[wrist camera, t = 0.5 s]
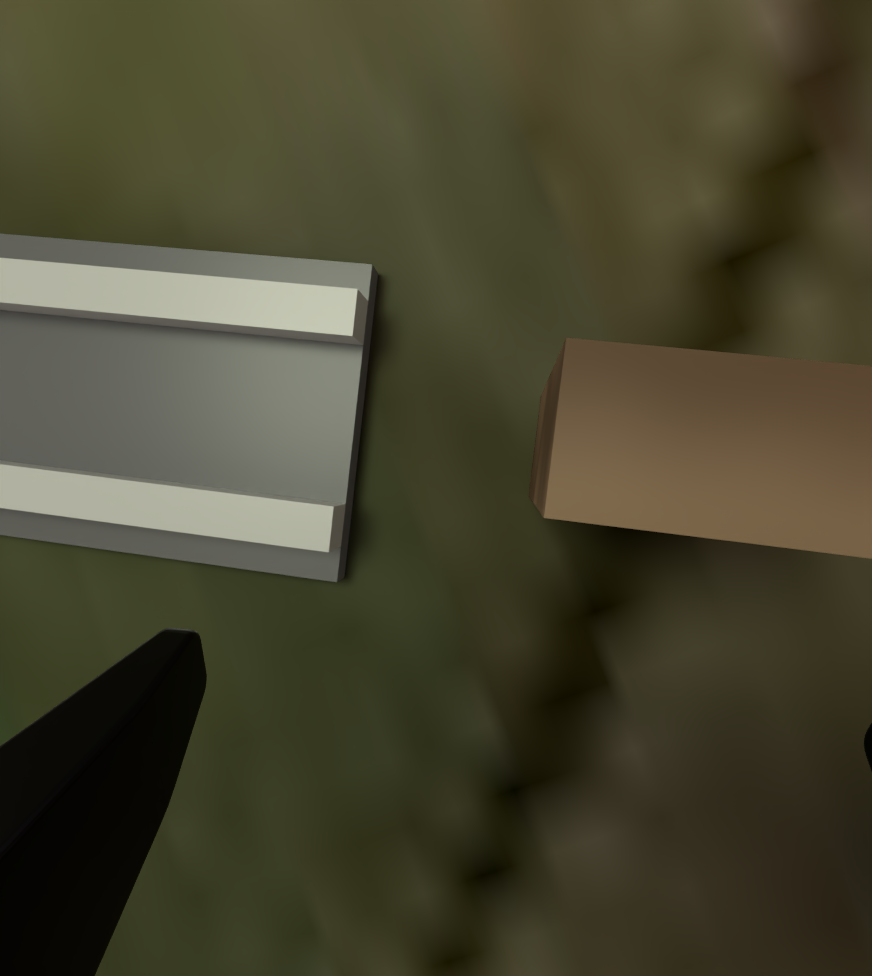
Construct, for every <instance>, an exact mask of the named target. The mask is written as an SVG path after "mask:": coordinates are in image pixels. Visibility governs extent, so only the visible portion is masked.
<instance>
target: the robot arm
mask: <svg viewBox="0 0 872 976" xmlns="http://www.w3.org/2000/svg"><path fill="white" fill-rule="evenodd" d="M206 680H207V675H206V668H205V662H204V656H203V650H202V644H201V639H200V636H199V634H198V632H196V631H194V630H189V629H177V628H166V629H164V630H162V631H160V632H159V633H157V634H156V635H154V636H153V637H152V638H150V639H149V640H147V641H146V642H145V643H143V644H142V645H141V646H139V647H138V648H136V649H135V650H134V651H132V652H131V653H129V654H128V655H127V656H125V657H124V658H122V659H121V660H120V661H118V662H117V663H115V664H114V665H113V666H111V667H110V668H108V669H107V670H106V671H104V672H103V673H102V674H100V675H99V676H97V677H96V678H95V679H93V680H92V681H90V682H89V683H88V684H86V685H85V686H83V687H82V688H81V689H79V690H78V691H76V692H75V693H74V694H72V695H71V696H70V697H68V698H67V699H65V700H64V701H63V702H61V703H60V704H58V705H57V706H56V707H54V708H53V709H51V710H50V711H49V712H47V713H46V714H44V715H43V716H42V717H40V718H39V719H38V720H36V721H35V722H33V723H32V724H31V725H29V726H28V727H26V728H25V729H24V730H22V731H21V732H19V733H18V734H17V735H15V736H14V737H12V738H11V739H10V740H8V741H7V742H5V743H4V744H3V745H1V746H0V976H95V974H96V972H97V969H98V967H99V965H100V962H101V960H102V958H103V955H104V953H105V951H106V949H107V946H108V944H109V942H110V939H111V937H112V935H113V933H114V930H115V928H116V926H117V923H118V921H119V919H120V916H121V914H122V912H123V910H124V907H125V905H126V903H127V900H128V898H129V896H130V894H131V891H132V889H133V887H134V884H135V882H136V880H137V877H138V875H139V873H140V871H141V868H142V866H143V864H144V861H145V859H146V857H147V855H148V852H149V850H150V848H151V845H152V843H153V841H154V838H155V836H156V834H157V832H158V829H159V827H160V825H161V822H162V820H163V817H164V815H165V812H166V810H167V807H168V805H169V802H170V799H171V796H172V793H173V790H174V787H175V784H176V781H177V778H178V775H179V772H180V768H181V765H182V762H183V759H184V756H185V753H186V749H187V746H188V743H189V740H190V737H191V734H192V730H193V727H194V724H195V721H196V718H197V715H198V711H199V708H200V705H201V702H202V699H203V695H204V692H205V688H206ZM864 748H865V753H866V756H867V759H868V762H869V765H870V768H871V771H872V723H871V725H870V727H869V728H868V730H867V732H866V734H865V738H864Z"/></svg>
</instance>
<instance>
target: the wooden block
mask: <svg viewBox="0 0 872 976" xmlns="http://www.w3.org/2000/svg"><path fill="white" fill-rule="evenodd" d="M529 498H530V499H531V500H532V502H533V503H534V505H535V506H536V507H537V509H538V510H539V512H540V513H541V514H542V516H543V517H544V518H549V519H557V520H565V521H573V522H581V523H589V524H598V525H606V526H614V527H622V528H630V529H638V530H646V531H654V532H662V533H670V534H678V535H686V536H694V537H702V538H710V539H718V540H726V541H734V542H742V543H750V544H758V545H766V546H774V547H782V548H790V549H799V550H807V551H815V552H823V553H831V554H839V555H847V556H855V557H863V558H871V559H872V366H866V365H855V364H844V363H833V362H823V361H812V360H801V359H790V358H779V357H769V356H758V355H747V354H736V353H725V352H715V351H704V350H693V349H682V348H672V347H661V346H650V345H639V344H628V343H618V342H607V341H596V340H585V339H574V338H566V340H565V342H564V344H563V347H562V349H561V351H560V354H559V356H558V358H557V360H556V363H555V365H554V367H553V370H552V372H551V374H550V377H549V379H548V381H547V384H546V386H545V388H544V391H543V393H542V395H541V399H540V407H539V415H538V424H537V432H536V440H535V448H534V456H533V464H532V472H531V480H530V489H529Z"/></svg>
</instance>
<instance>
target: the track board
mask: <svg viewBox="0 0 872 976" xmlns="http://www.w3.org/2000/svg"><path fill="white" fill-rule="evenodd" d="M377 280H378V272H377V271H376V269H375V268H374V266H373V265H372V264H360V263H348V262H336V261H324V260H312V259H300V258H288V257H276V256H264V255H252V254H239V253H227V252H215V251H203V250H191V249H179V248H167V247H155V246H143V245H130V244H118V243H106V242H94V241H82V240H70V239H58V238H46V237H34V236H22V235H9V234H0V535H5V536H12V537H19V538H26V539H33V540H41V541H48V542H55V543H62V544H69V545H76V546H83V547H90V548H97V549H105V550H112V551H119V552H126V553H133V554H140V555H147V556H154V557H161V558H168V559H176V560H183V561H190V562H197V563H204V564H211V565H218V566H225V567H232V568H240V569H247V570H254V571H261V572H268V573H275V574H282V575H289V576H296V577H303V578H311V579H318V580H325V581H332V582H338V581H340V580H341V579H343V578H344V577H345V568H346V559H347V550H348V541H349V532H350V523H351V514H352V505H353V496H354V487H355V478H356V469H357V460H358V451H359V442H360V433H361V424H362V415H363V406H364V397H365V388H366V379H367V370H368V361H369V352H370V343H371V334H372V325H373V316H374V307H375V298H376V289H377Z"/></svg>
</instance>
